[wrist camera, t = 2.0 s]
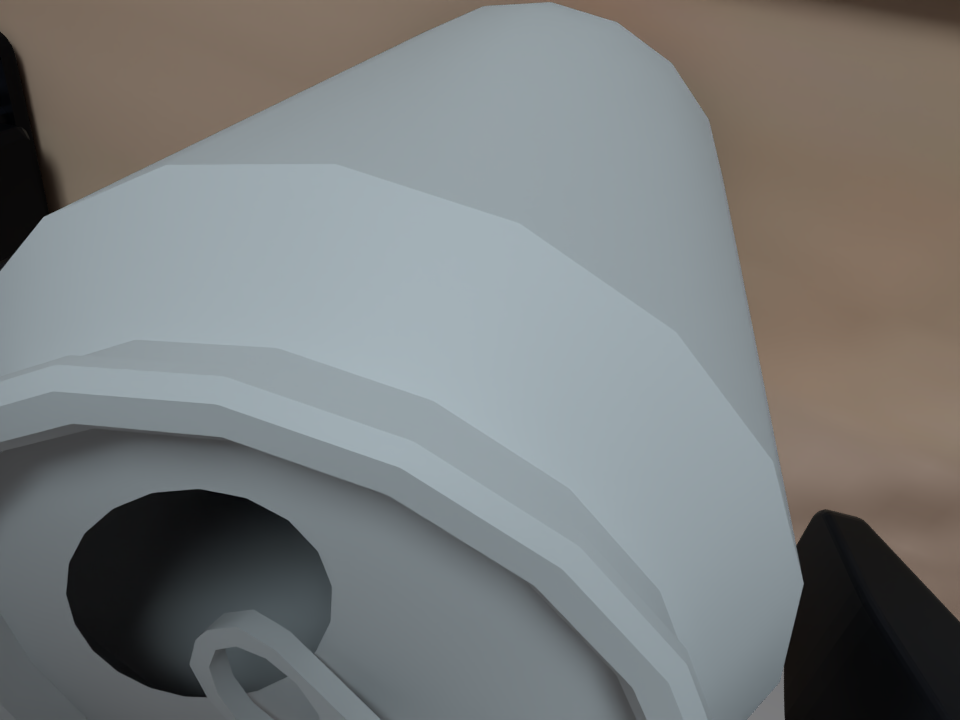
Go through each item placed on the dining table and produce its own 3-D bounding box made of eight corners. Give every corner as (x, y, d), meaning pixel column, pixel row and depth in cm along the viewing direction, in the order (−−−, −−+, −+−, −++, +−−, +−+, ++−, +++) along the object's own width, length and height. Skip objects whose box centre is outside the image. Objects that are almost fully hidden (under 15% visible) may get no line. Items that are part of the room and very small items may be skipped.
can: (522, -106, 12) (-152, -191, 2) (804, 197, 14) (1163, 954, 4) (300, 195, 16) (-298, 651, 6) (539, 403, 18) (370, 1036, 8)
